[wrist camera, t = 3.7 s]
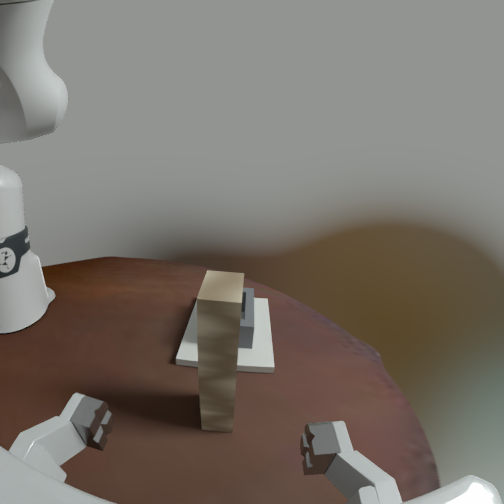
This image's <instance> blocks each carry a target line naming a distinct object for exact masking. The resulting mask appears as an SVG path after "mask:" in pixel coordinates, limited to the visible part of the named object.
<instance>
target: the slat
mask: <svg viewBox="0 0 504 504" xmlns="http://www.w3.org/2000/svg"><path fill="white" fill-rule="evenodd" d="M243 278H244V274H243V273H232V272H220V271H208V270H207V273H206V276H205V278H204V281H203V284H202V286H201V289H200V291H199V294H198V297H197V348H198V375H199V395H200V411H201V426H202V430H210V431H220V432H233V417H234V403H235V388H236V374H237V361H238V347H239V333H240V320H241V307H242V293H243Z"/></svg>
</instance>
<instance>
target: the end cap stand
mask: <svg viewBox="0 0 504 504" xmlns="http://www.w3.org/2000/svg"><path fill="white" fill-rule="evenodd" d="M176 365H183V366H191V367H198V348H197V301H196V303H195V306H194V309H193V312H192V314H191V317H190V320H189V323H188V325H187V328H186V331H185V334H184V336H183V339H182V342H181V345H180V348H179V351H178V354H177V356H176ZM237 371H243V372H261V373H273V372H274V358H273V348H272V338H271V328H270V318H269V308H268V299H263V298H254V288H243V293H242V307H241V320H240V333H239V347H238V361H237Z"/></svg>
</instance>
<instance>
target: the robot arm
mask: <svg viewBox="0 0 504 504" xmlns="http://www.w3.org/2000/svg"><path fill="white" fill-rule="evenodd" d="M53 1H54V0H0V144H2V143H10V142H17V141H25V140H30V139H34V138H37V137H40V136H43V135H46V134H50V133H52V132H54V131H55V130H56V128H57V127H58V126H59V124H60V123H61V121H62V119H63V117H64V115H65V112H66V110H67V105H68V92H67V88H66V86H65V83H64V82H63V80H62V79H61V78H60V77H58V76H57V75H56V74H55V73H54V72H53V71H52V70H51V69H50V67H49V66H48V64H47V62H46V60H45V57H44V52H43V36H44V31H45V27H46V23H47V19H48V16H49V13H50V10H51V7H52V4H53ZM29 249H30V242H29V234H28V228H27V226H25V221H24V207H23V187H22V182H21V180H20V178H19V176H18V175H17V174H16V173H15V172H14V171H12V170H10V169H8V168H6V167H4V166H2V165H0V333H9V332H14V331H18V330H21V329H23V328H26V327H28V326H30V325H31V324H33V323H34V322H36V321H37V320H38V319H40V318H41V317H42V316H43V314H44V313H45V311H46V309H47V307H48V304H49V303H50V302H51V301H52V300H53V299H54V298H55V293H54V291H53V290H51V289H49V288H47V287H46V285H45V281H44V277H43V273H42V269H41V265H40V260H39V257H38V256H36V255H35V254H33V253H32V252H31V251H30V250H29ZM108 408H109V406H108V404H107V402H104V401H101V400H98V399H94V398H91V397H88V396H85V395H82V394H79V393H75V394H73V396H72V397H71V399H70V400H69V402H68V403H67V405H66V407H65V408H64V410H63V411H62V413H61V415H60V416H59V417H58V416H55V417H53V418H51V419H49V420H47V421H45V422H43V423H41V424H39V425H37V426H34V427H32V428H30V429H28V430H26V431H23V432H21V433H20V434H19V436H18V437H17V439H16V440H15V442H14V443H13V445H12V447H11V448H10V450H9V452H8V451H7V450H5V449H4V448H2V447H1V446H0V504H116V503H113V502H110V501H107V500H104V499H101V498H99V497H96V496H93V495H91V494H88V493H86V492H83V491H81V490H79V489H76V488H74V487H72V486H69V485H67V484H65V483H64V481H65V478H66V473H65V472H64V471H63V470H62V469H61V467H60V465H61V464H63V463H64V462H66V461H67V460H68V459H70V458H71V457H73V456H74V455H76V454H77V453H78V452H80V451H81V450H83V449H84V448H85V447H86V446H88V447H92V448H95V449H98V450H101V451H103V449H104V447H105V445H106V443H107V437H106V435H108V434H109V433H111V431H112V428H113V422H114V421H113V416H112V414H111V413H110V412H109V411H108ZM304 429H305V433H304V434H302V437H301V443H300V450H301V455H303V456H304V457H305V458H304V460H303V462H302V464H303V471H304V475H315V474H324V475H325V476H326V477H327V478H328V479H329V480H330V481H331V483H332V484H333V485H334V486H335V487H336V488H337V489H338V490H339V491H340V492H341V493H342V494H343V495H344V496H345V497H346V498H347V499H348V500H349V501H348V502H347V503H346V504H503V503H502V501H501V498H500V496H499V494H498V491H497V490H496V488H495V487H494V486H493V485H492V484H490V483H489V482H487V481H485V480H483V479H481V478H478V477H476V476H473V475H468V476H465V477H463V478H461V479H459V480H457V481H455V482H453V483H451V484H448V485H446V486H444V487H442V488H440V489H437V490H435V491H433V492H430V493H428V494H425V495H423V496H420V497H417V498H415V499H412V500H409V501H406V502H403V503H402V500H401V497H400V494H399V491H398V488H397V485H396V482H395V479H394V478H392V477H391V476H390V475H388V474H387V473H385V472H384V471H383V470H381V469H380V468H379V467H377V466H376V465H375V464H373V463H372V462H371V461H369V460H368V459H367V458H366V457H364V456H363V455H362V454H360V453H359V452H358V451H353V448H352V445H351V441H350V438H349V435H348V432H347V428H346V425H345V423H344V421H336V422H321V423H307V424H306V426H305V428H304Z"/></svg>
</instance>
